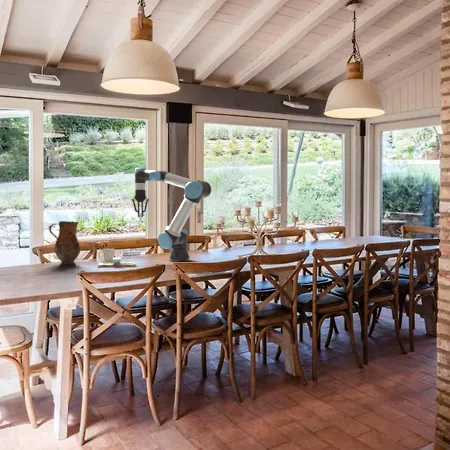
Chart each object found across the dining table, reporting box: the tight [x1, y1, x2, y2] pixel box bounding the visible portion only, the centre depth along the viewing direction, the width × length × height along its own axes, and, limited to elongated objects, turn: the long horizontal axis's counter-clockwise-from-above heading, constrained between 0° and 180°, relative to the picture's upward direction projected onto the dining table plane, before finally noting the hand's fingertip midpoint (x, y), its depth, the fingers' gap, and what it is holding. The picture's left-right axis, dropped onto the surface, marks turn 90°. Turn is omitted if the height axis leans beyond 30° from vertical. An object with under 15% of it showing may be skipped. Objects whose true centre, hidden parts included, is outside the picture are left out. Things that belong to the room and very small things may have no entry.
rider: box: [112, 257, 122, 264], centre depth 338 cm, size 5×6×5 cm
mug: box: [97, 248, 116, 263], centre depth 355 cm, size 8×13×10 cm, turn 78°
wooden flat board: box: [97, 262, 136, 269], centre depth 338 cm, size 24×9×3 cm, turn 98°
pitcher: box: [48, 220, 81, 267], centre depth 345 cm, size 17×21×30 cm
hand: (140, 221), depth 368 cm, fingers closed
